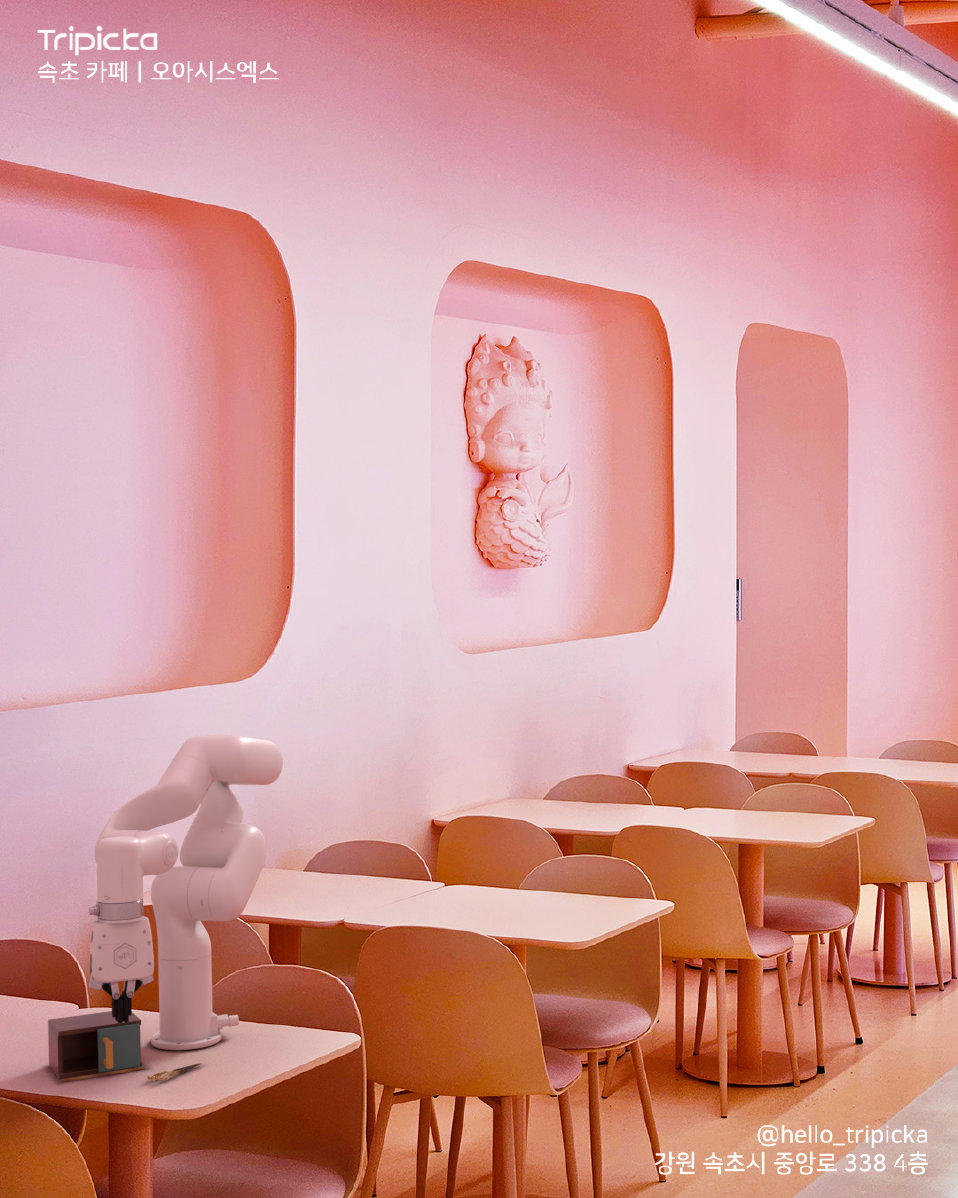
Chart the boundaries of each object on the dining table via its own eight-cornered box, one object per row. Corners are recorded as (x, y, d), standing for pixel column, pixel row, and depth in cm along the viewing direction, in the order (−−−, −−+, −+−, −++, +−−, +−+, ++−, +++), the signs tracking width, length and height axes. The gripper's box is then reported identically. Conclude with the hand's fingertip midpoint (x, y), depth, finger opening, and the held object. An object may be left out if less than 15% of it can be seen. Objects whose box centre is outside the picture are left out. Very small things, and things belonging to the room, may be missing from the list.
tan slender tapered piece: (198, 1065, 263) (198, 1057, 263) (209, 1068, 261) (209, 1059, 261) (144, 1083, 253) (144, 1075, 253) (155, 1086, 252) (155, 1077, 252)
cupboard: (129, 1054, 271) (128, 1008, 271) (144, 1069, 261) (143, 1022, 261) (49, 1066, 265) (48, 1019, 265) (61, 1082, 255) (60, 1034, 255)
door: (139, 1065, 262) (138, 1023, 262) (145, 1071, 258) (144, 1029, 258) (98, 1072, 259) (97, 1029, 259) (104, 1078, 255) (103, 1035, 255)
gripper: (80, 919, 251) (81, 1031, 250) (170, 910, 258) (171, 1020, 257) (70, 912, 258) (72, 1022, 257) (158, 904, 264) (160, 1011, 264)
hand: (121, 1020), depth 257 cm, fingers closed
